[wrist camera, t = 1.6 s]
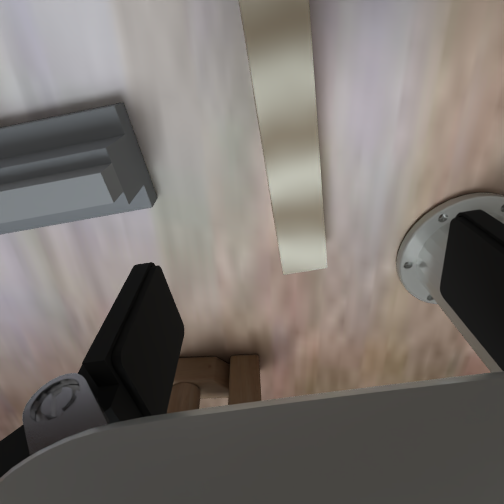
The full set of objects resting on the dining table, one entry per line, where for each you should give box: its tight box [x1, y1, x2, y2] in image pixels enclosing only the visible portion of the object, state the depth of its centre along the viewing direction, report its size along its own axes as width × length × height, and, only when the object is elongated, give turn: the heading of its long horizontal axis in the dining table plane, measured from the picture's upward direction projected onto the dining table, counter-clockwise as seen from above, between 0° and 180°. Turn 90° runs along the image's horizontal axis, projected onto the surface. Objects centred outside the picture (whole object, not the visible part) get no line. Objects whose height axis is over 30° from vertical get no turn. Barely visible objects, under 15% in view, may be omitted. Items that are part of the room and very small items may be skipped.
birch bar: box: [239, 0, 327, 275], centre depth 24 cm, size 24×4×4 cm, turn 10°
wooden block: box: [167, 354, 261, 413], centre depth 33 cm, size 4×11×18 cm, turn 92°
